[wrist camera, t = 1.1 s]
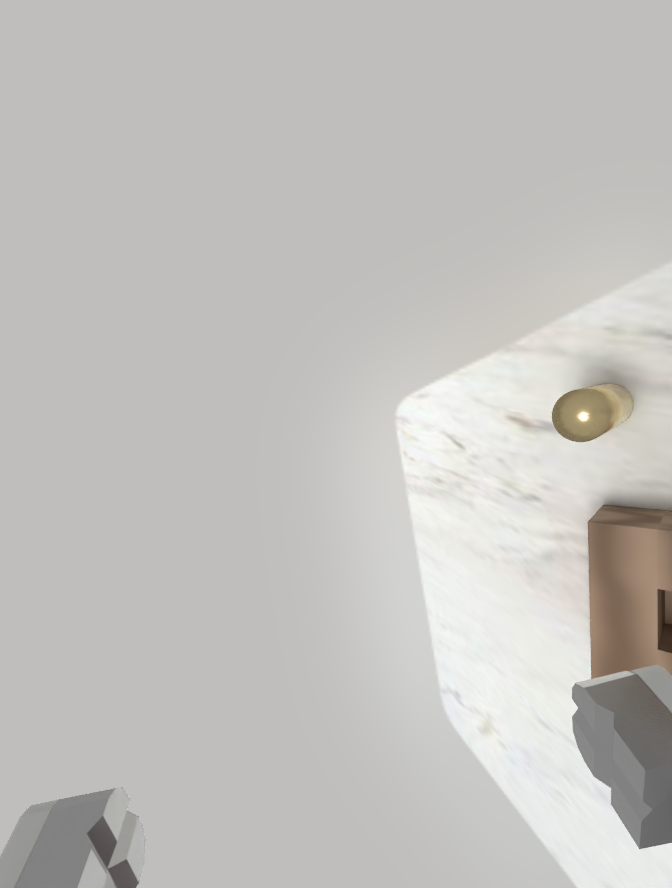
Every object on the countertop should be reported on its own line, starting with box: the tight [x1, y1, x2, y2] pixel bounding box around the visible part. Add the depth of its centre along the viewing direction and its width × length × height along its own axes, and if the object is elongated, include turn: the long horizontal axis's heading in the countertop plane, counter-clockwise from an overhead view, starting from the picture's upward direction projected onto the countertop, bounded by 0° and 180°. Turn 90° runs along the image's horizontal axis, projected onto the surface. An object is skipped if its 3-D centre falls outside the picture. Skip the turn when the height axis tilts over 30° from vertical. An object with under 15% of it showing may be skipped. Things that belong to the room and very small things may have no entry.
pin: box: [552, 384, 633, 442], centre depth 39 cm, size 4×4×10 cm
